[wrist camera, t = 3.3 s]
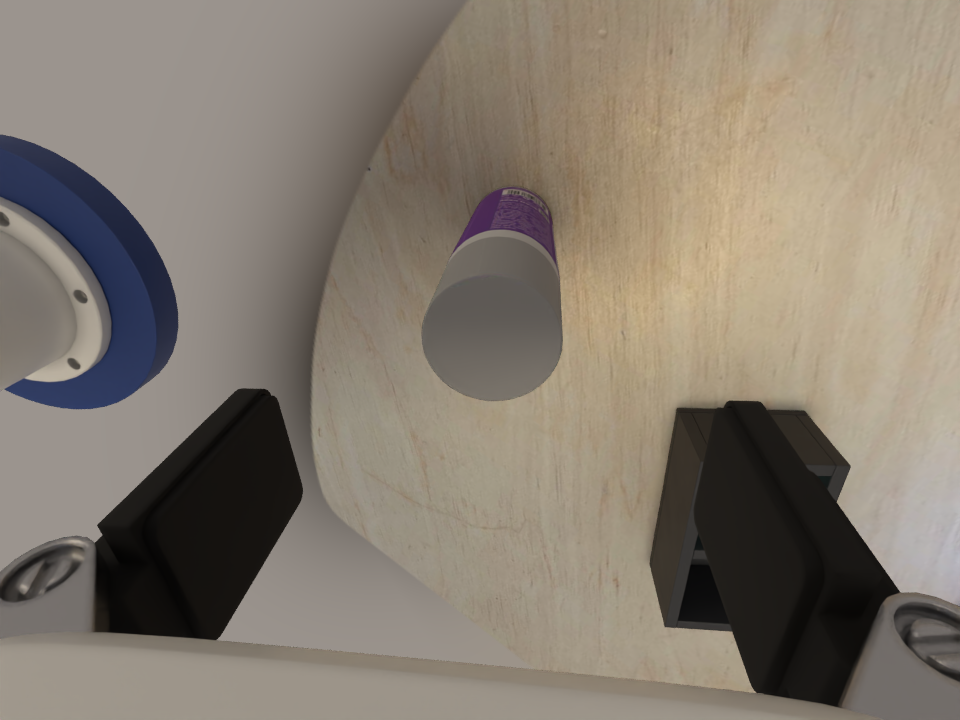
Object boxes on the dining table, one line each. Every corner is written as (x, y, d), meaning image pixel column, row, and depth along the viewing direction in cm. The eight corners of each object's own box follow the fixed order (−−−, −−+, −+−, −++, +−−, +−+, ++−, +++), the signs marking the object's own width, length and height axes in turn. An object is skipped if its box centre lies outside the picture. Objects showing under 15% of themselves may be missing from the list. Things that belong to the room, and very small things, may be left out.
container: (456, 211, 28) (388, 312, 15) (529, 169, 27) (522, 240, 14) (496, 280, 30) (464, 424, 17) (566, 244, 29) (591, 371, 15)
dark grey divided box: (649, 563, 40) (664, 627, 36) (676, 408, 33) (700, 461, 28) (753, 569, 39) (783, 635, 35) (804, 410, 32) (852, 466, 27)
